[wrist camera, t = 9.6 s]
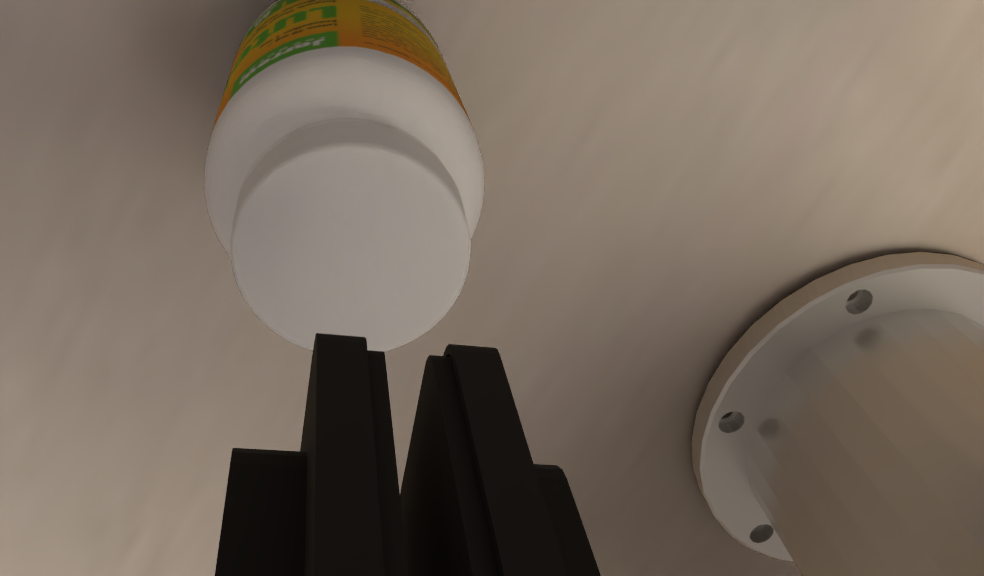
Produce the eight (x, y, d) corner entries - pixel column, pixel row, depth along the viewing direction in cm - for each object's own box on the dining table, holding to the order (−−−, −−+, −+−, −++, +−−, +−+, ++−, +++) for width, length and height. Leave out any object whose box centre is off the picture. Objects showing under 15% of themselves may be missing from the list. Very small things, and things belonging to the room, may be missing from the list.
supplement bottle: (323, -71, 22) (325, 25, 13) (487, 75, 24) (578, 235, 16) (189, 99, 23) (113, 283, 15) (356, 220, 25) (374, 439, 17)
